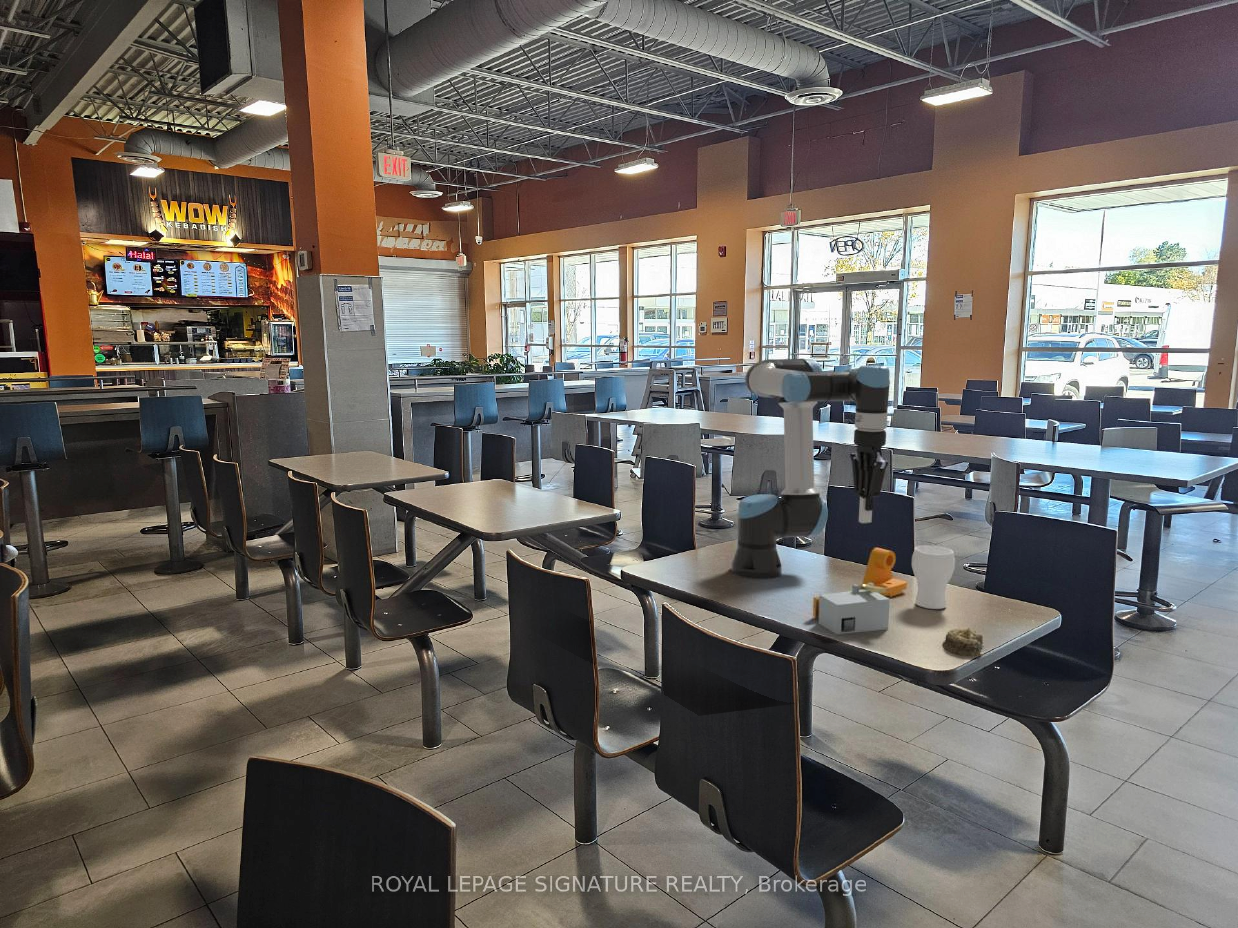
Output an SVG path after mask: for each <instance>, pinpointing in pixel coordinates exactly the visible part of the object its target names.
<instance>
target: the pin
mask: <svg viewBox="0 0 1238 928" xmlns="http://www.w3.org/2000/svg"><path fill="white" fill-rule="evenodd" d="M819 597H820V596H813V599H812V600H813V601H812V604H813V605H812V617H813V618H815V619H816V618H819ZM853 621H854V619H852V618H842V621H841V629H842V630H852V629H853Z"/></svg>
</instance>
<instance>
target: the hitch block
mask: <svg viewBox="0 0 1238 928" xmlns="http://www.w3.org/2000/svg"><path fill="white" fill-rule="evenodd" d="M868 584H870V585H873V586H874V584H873V583H868ZM858 585H859V584H856V583H854V584H852V589H851V590H850V591H849V590H848V591H843V592H842V591H841V592H832V593H823V594H819V596H818V597H819V617H818V624H820V625H821V626H823V628H826V629H827V630H829V631H830V632H831V633H833V634H835V635H842V634H852V633H853V634H854V633H862V632H863V633H864V632H873V631H882V630H883V631H885V630H889V620H890V601H891V600H890V599H891V598H890V597H888V596H884V595H881V594H879V593H875V592H871V591H866V590H862V589H861V590H859V586H858ZM842 618H852V619H854V621H853V629H852V630H842V629H841V621H842Z"/></svg>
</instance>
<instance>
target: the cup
mask: <svg viewBox="0 0 1238 928" xmlns="http://www.w3.org/2000/svg"><path fill="white" fill-rule="evenodd" d="M954 554H955V553H954V551H953V549H951V548H949V547H944V546H939V545H931V544H930V545H929V544H928V545H917V546H916V547H914V551H913V553H912V555H911V568H912V571H913V575H914V576H915V578H916V582H917V592H916V595H915V596H916V597H915V601H914V603H915V604H916V605H917V606H919V607H920V608H921V607H922V608H925V609H931V610H940V609H945V608H946V607H947V597H946V591H947V585H948V583H949V581H950V580H951V578H952V576H953V574H954V571H955V566H956V559H955V558H956V557H955V555H954Z"/></svg>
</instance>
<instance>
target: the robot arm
mask: <svg viewBox="0 0 1238 928" xmlns="http://www.w3.org/2000/svg"><path fill="white" fill-rule="evenodd" d="M890 372H891V371H890V368H889V367H887V366H885V365H860V366H859V367H858V368H857V371H856V370H855V369H854V370H853V369H851V370H842V371H823V369H822V366H821V365H820V364H819V362H817V361H816V360H815V359H811V358H780V359H778V358H777V359H774V358H772V359H771V358H770V359H769V358H768V359H764V360H763V359H762V360H761V361H757V362H755V363H754V364H752V365H751V366H750V367H749V368H748V370H747V371H746V374H745V376H744V382H745V386H746V388H747V390H748V391H749V392H750V393H751V394H752V395H754V396H757V397H760V398H761V397H762V398H767V399H768V398H771V399H778V401H777V402H778V405H779V406H780V407H781V408H782V410H783V434H784V435H783V436H784V471H785V472H784V474H785V477H784V478H785V479H784V480H785V488H784V489H783V490H782V491H781V492H780V498H778V496H777V495H774V494H769V493H768V494H767V493H766V494H763V493H762V494H761V493H760V494H754V495H750V496H746V497H744V498H742V499H741V500H740V501H739V503H738V509H737V548H736V550H735V553H734V555H733V559H732V561H731V570H732V571H731V570H730V571H731V572H732V574H734V575H736V576H739V577H742V578H748V579H758V580H759V579H762V580H764V579H772V578H776V577H779V576H781V575H782V571H783V570H782V569H783V567H782V562H781V559H780V556H779V552H778V548H777V538H779V539H781V538H797V537H798V538H800V537H801V538H803V537H804V538H808V537H812V536H818V535H820V534H821V533H823V531H824V529H825V527H826V525H827V521H828V516H829V515H828V513H829V509H828V506H827V502H826V500H825V499H824V498H823V497H821V495H820V491H819V490H818V489H817V488H816V486H815V457H814V452H815V451H814V417H813V415H814V411H813V410H814V407H815V406H816V405H817V404H818V402H855V410H854V411H855V417H854V427H855V428H856V429H854V431H853V433H854V434H853V443H854V445H856V446H857V447H856V451H855V452H851V453H850V455H849V457H850V460H851V466H852V477H853V481H852V482H853V490H854V492H856V493H857V494H858V495H857V496H859V499H858V500H859V502H858V506H859V508H858V509H859V511H858V523H860V524H869V523H872V519H873V518H872V517H873V509H874V499H875V498H877V497H880V495H881V491H882V486H883V483H884V477H885V472H886V469H887V467H888V466H889V461H888V460H884V459H883V452H882V448H883V447H884V446H885V445H886V444H887V443H886V442H887V431H886V428H888V413H889V412H888V409H889V397H890V385H891V381H890Z"/></svg>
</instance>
